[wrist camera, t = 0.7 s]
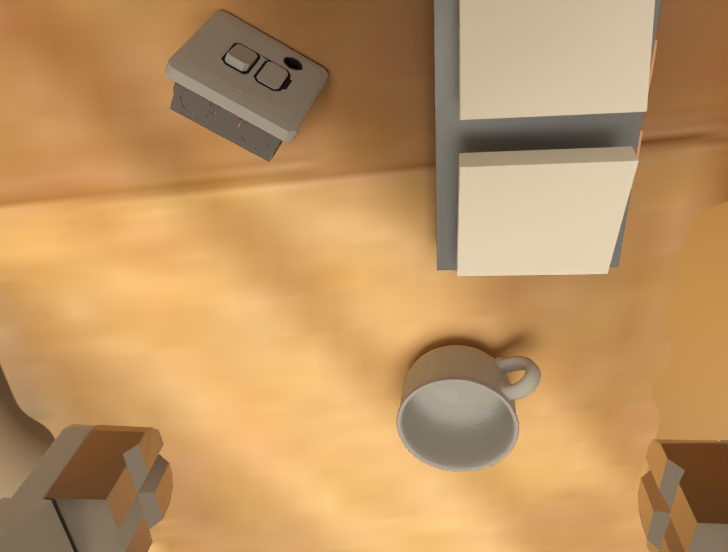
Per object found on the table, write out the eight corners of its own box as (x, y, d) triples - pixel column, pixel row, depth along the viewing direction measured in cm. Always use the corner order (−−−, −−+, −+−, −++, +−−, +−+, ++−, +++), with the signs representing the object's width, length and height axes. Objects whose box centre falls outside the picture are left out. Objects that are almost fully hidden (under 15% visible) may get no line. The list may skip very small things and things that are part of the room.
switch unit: (432, -75, 41) (433, -74, 35) (657, -93, 39) (698, -96, 33) (436, 241, 53) (437, 281, 47) (608, 238, 51) (631, 278, 45)
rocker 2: (459, 153, 40) (459, 167, 39) (632, 146, 38) (638, 160, 37) (456, 261, 47) (457, 276, 46) (602, 258, 46) (607, 273, 44)
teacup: (431, 425, 64) (431, 486, 57) (380, 353, 59) (374, 409, 53) (557, 380, 59) (574, 440, 52) (511, 298, 55) (523, 352, 48)
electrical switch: (332, 70, 46) (306, 113, 39) (305, 126, 49) (275, 176, 41) (221, 6, 44) (170, 37, 37) (199, 67, 47) (148, 108, 40)
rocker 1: (458, -53, 36) (459, -60, 34) (650, -68, 35) (660, -76, 33) (459, 119, 39) (460, 120, 37) (637, 111, 37) (646, 111, 36)
